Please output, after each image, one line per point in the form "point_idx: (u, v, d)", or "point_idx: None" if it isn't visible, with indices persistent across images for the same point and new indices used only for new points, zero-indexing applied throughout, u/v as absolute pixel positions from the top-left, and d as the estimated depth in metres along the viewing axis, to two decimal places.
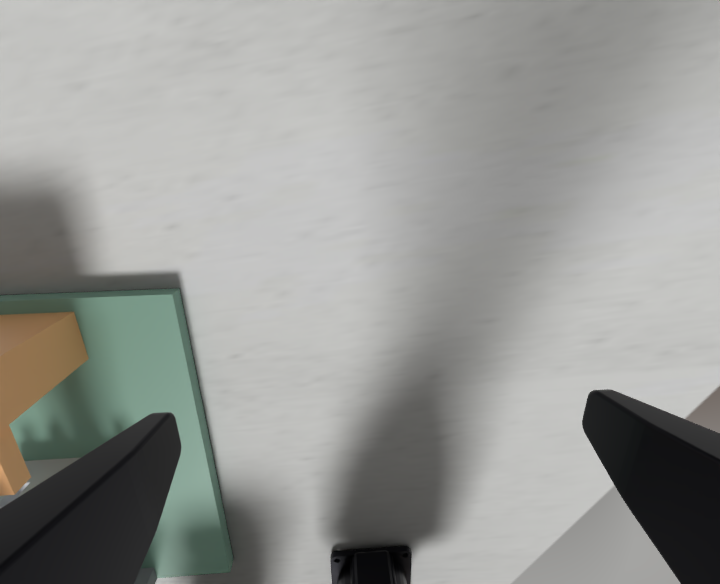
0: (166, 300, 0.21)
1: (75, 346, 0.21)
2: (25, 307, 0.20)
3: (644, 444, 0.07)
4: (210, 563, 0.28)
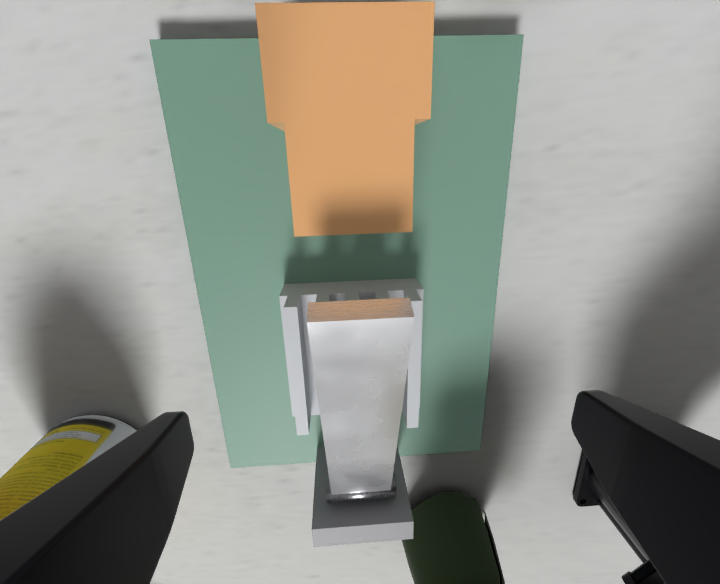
0: (514, 43, 0.16)
1: None
2: None
3: (630, 445, 0.07)
4: (461, 437, 0.24)
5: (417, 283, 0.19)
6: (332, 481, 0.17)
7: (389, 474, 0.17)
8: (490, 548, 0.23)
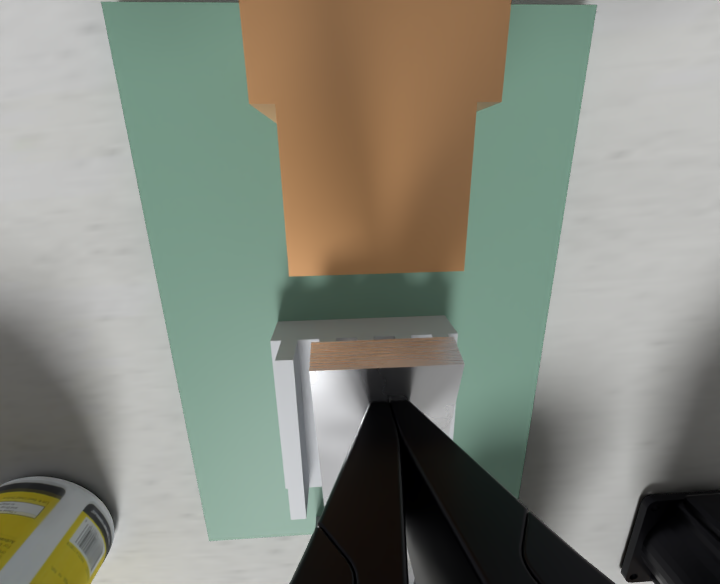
0: (584, 17, 0.12)
1: None
2: None
3: (402, 459, 0.06)
4: None
5: (448, 323, 0.15)
6: None
7: (411, 573, 0.13)
8: None
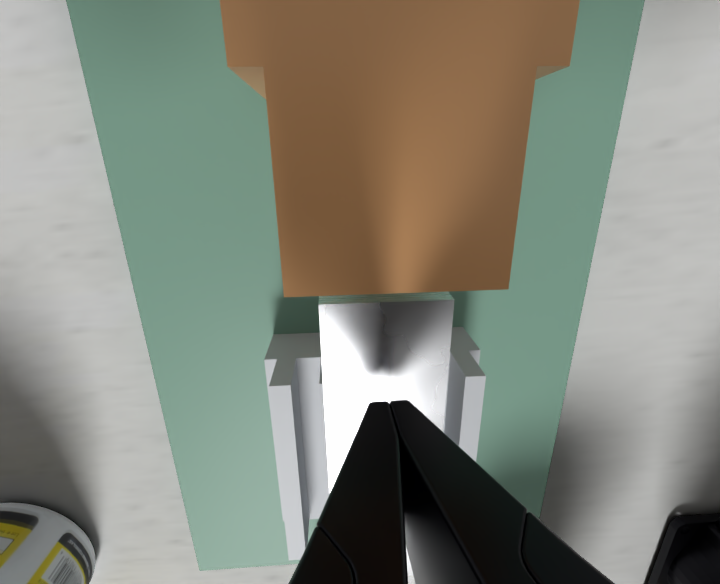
0: None
1: None
2: None
3: (401, 459, 0.06)
4: None
5: (467, 337, 0.13)
6: None
7: None
8: None
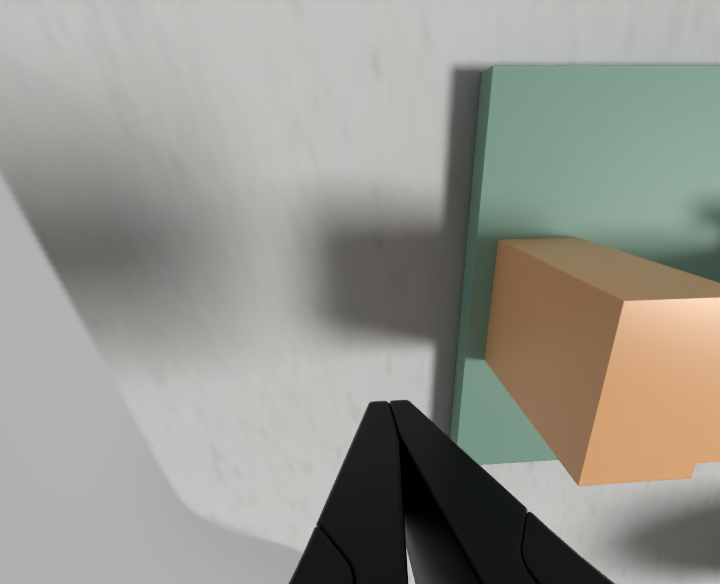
0: (503, 79, 0.12)
1: (557, 241, 0.13)
2: (481, 303, 0.14)
3: (401, 459, 0.06)
4: None
5: None
6: None
7: None
8: None
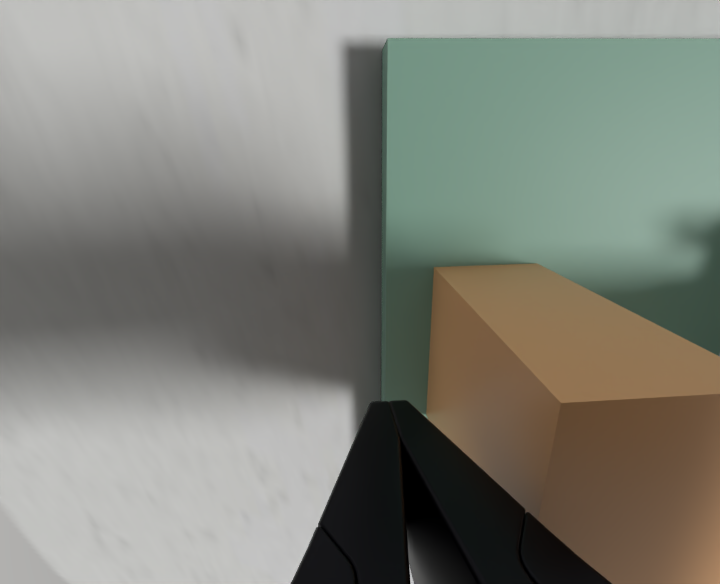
0: (402, 57, 0.09)
1: (507, 271, 0.10)
2: (399, 346, 0.11)
3: None
4: None
5: None
6: None
7: None
8: None
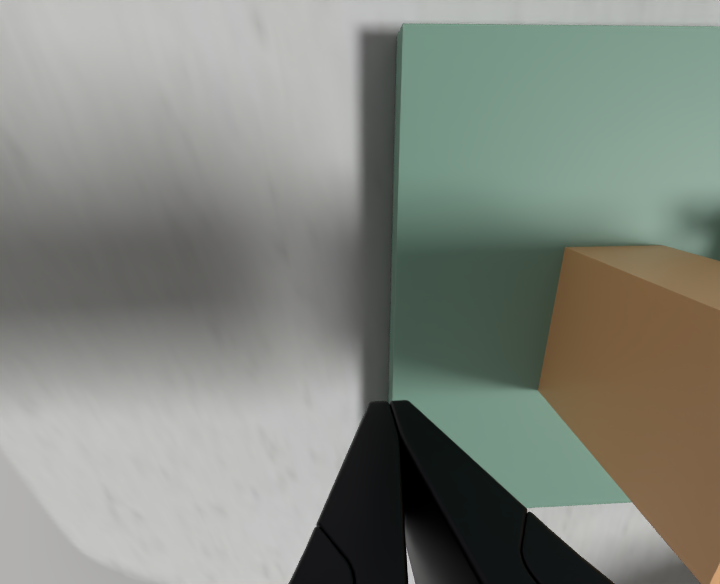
0: (416, 42, 0.09)
1: (642, 251, 0.10)
2: (408, 327, 0.12)
3: (401, 459, 0.06)
4: None
5: None
6: None
7: None
8: None
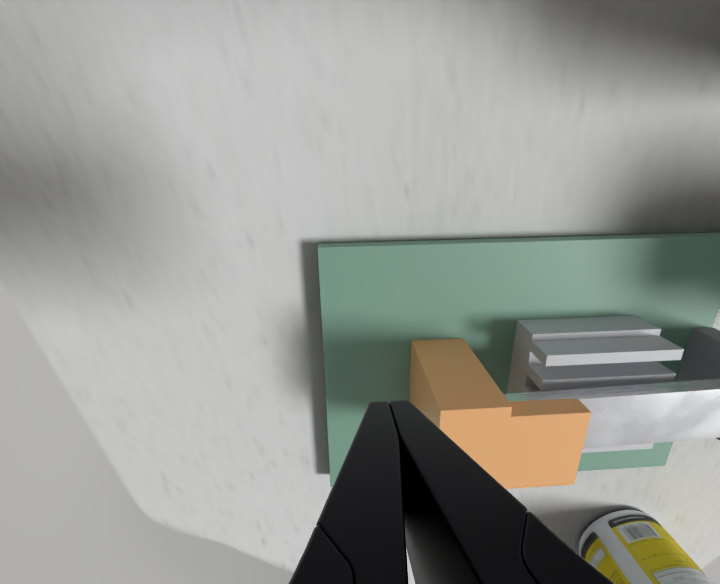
0: (324, 254, 0.19)
1: (446, 344, 0.20)
2: (332, 381, 0.22)
3: (401, 459, 0.06)
4: (716, 259, 0.20)
5: (524, 328, 0.20)
6: (696, 437, 0.19)
7: (707, 392, 0.18)
8: None
